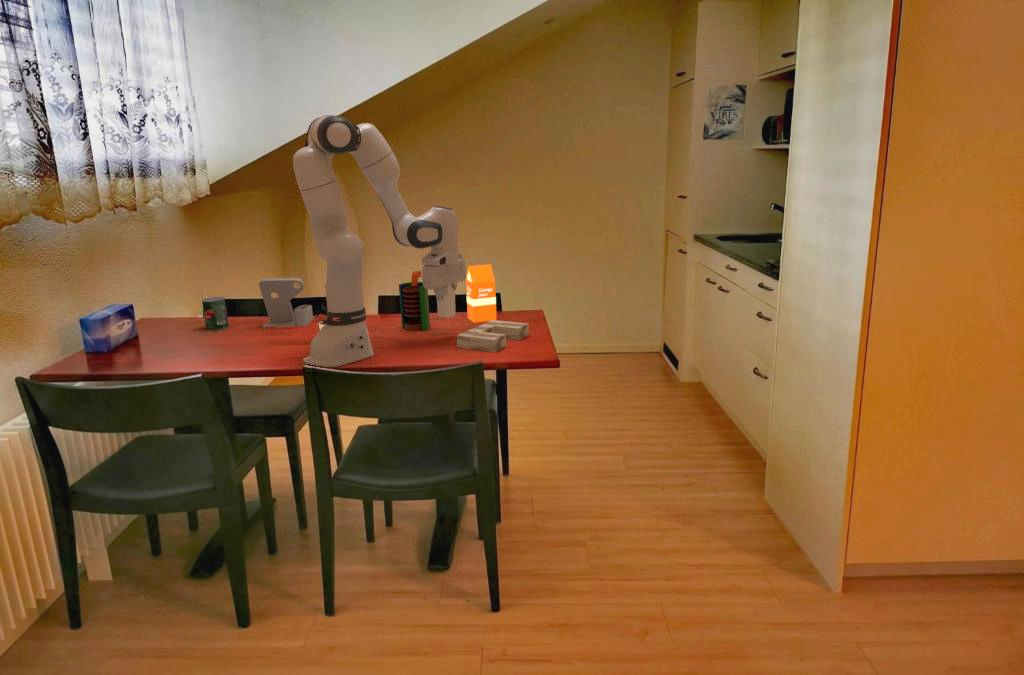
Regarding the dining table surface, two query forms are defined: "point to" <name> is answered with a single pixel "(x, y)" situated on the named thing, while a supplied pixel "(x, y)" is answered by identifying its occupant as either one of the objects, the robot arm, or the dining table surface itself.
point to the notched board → (492, 335)
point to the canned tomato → (215, 313)
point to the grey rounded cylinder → (446, 302)
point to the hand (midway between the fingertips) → (445, 298)
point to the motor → (414, 304)
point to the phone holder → (284, 302)
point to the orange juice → (481, 293)
